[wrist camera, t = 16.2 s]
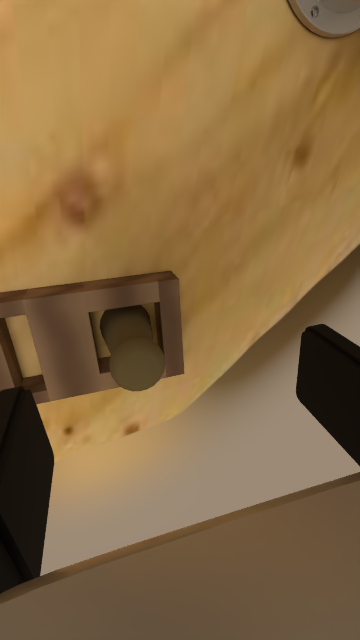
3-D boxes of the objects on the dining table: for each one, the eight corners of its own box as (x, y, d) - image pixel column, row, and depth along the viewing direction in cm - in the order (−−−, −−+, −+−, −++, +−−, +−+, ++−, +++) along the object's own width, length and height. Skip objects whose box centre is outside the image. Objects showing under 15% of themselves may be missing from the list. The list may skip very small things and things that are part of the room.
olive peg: (150, 344, 40) (172, 396, 30) (101, 349, 38) (107, 406, 29) (150, 299, 37) (173, 339, 28) (97, 302, 36) (103, 347, 26)
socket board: (170, 270, 37) (178, 278, 34) (176, 359, 42) (184, 373, 39) (-42, 298, 32) (-55, 310, 29) (-6, 395, 37) (-15, 414, 34)
